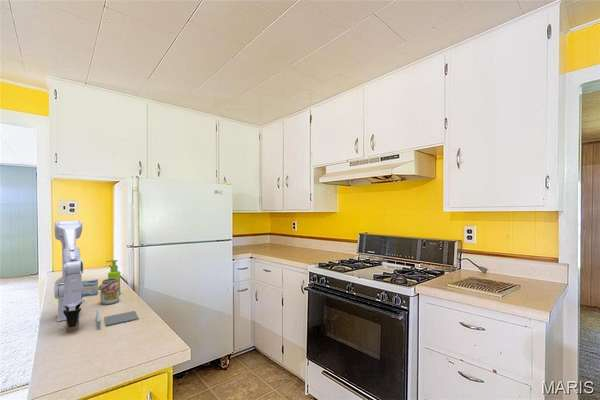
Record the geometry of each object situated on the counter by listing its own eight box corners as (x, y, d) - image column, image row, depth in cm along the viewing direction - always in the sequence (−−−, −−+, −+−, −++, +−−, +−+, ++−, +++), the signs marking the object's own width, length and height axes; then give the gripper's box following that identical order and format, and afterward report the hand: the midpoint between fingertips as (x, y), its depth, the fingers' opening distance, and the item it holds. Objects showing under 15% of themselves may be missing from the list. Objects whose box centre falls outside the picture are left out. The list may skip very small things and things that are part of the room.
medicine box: (79, 297, 164) (79, 281, 164) (81, 295, 168) (81, 280, 168) (96, 295, 167) (96, 280, 168) (98, 293, 171) (98, 278, 172)
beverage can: (98, 307, 146) (98, 283, 146) (97, 303, 153) (97, 280, 153) (120, 303, 152) (120, 279, 152) (117, 299, 158) (117, 277, 159)
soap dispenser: (109, 294, 169) (109, 259, 169) (122, 293, 169) (122, 259, 170) (103, 297, 163) (103, 261, 163) (116, 296, 163) (116, 260, 164)
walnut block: (66, 328, 119) (66, 314, 120) (78, 326, 122) (78, 311, 122) (66, 331, 116) (66, 316, 116) (78, 329, 119) (78, 314, 119)
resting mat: (104, 318, 130) (104, 316, 130) (134, 312, 137) (134, 310, 138) (105, 326, 121) (105, 325, 121) (138, 319, 128) (138, 318, 128)
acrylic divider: (96, 318, 130) (96, 310, 130) (98, 317, 131) (98, 310, 131) (97, 330, 117) (97, 321, 117) (100, 329, 118) (100, 320, 118)
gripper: (84, 292, 116) (84, 326, 116) (84, 285, 128) (84, 316, 127) (62, 295, 112) (62, 331, 111) (64, 288, 123) (64, 320, 123)
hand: (72, 323), depth 119 cm, fingers open, 7 cm apart
